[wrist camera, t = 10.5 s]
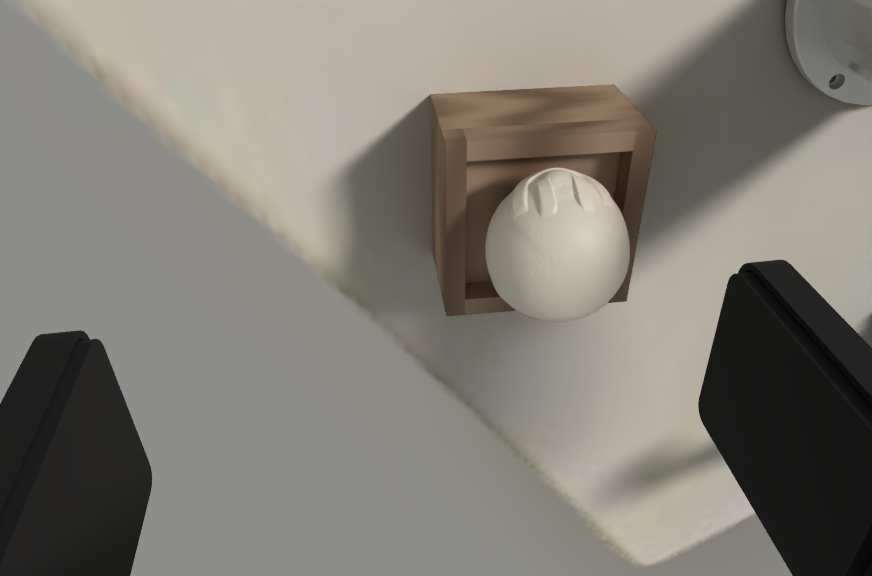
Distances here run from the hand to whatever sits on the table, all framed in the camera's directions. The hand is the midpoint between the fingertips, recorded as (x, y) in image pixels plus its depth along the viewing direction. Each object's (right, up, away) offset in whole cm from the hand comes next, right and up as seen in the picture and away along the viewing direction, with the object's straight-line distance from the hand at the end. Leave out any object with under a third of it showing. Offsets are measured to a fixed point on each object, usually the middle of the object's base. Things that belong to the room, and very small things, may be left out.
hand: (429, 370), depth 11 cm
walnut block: (+5, +8, +31) cm, 32 cm away
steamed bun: (+5, +5, +26) cm, 27 cm away
